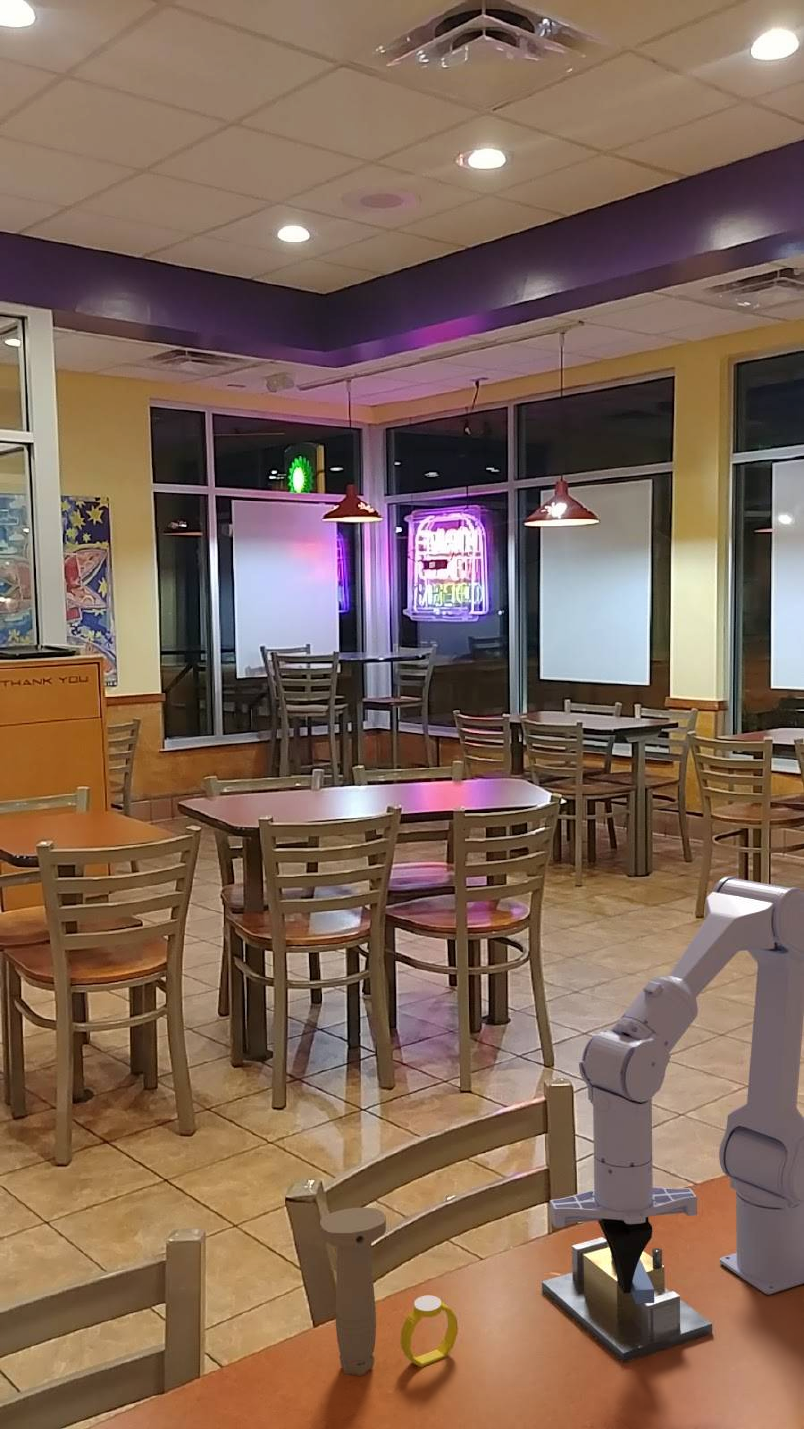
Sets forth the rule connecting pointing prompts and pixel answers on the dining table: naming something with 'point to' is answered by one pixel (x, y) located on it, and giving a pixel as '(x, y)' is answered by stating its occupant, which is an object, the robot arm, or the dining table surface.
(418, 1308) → the watch
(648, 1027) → the robot arm
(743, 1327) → the dining table surface
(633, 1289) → the lever
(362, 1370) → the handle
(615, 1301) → the valve
